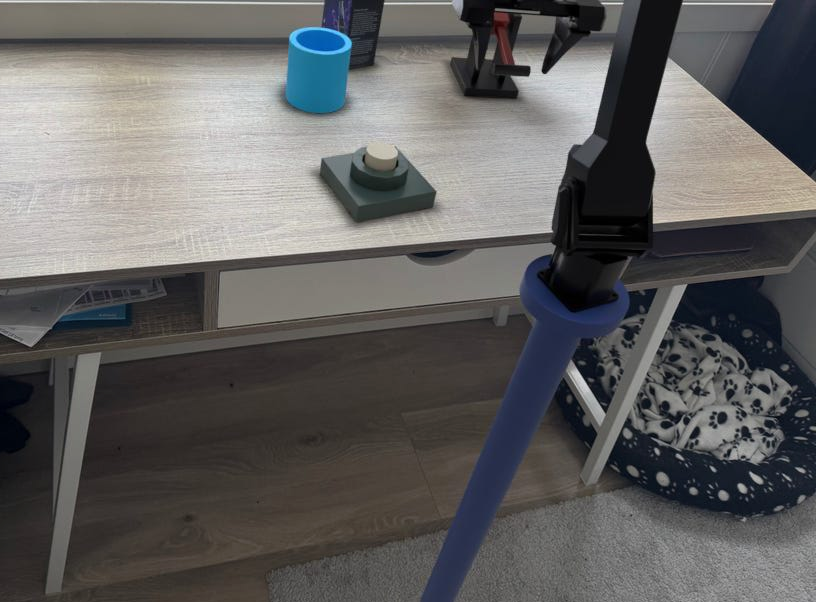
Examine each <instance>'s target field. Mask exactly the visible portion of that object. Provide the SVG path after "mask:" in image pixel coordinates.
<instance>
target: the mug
mask: <svg viewBox="0 0 816 602" xmlns="http://www.w3.org/2000/svg"><path fill="white" fill-rule="evenodd" d="M351 46H352V42H351V40H350V39H349V38H348V37H347V36H346V35H344V34H342V33H340V32H338V31H335V30H331V29H328V28H321V27H319V26H315V27H314V26H313V27H311V26H309V27H301V28H299V29H296V30H294V31H293V32H292V33H290V34H289V39H288V53H287V70H286V83H285V84H286V87H285V99H286V101H287V103H288V104H289V105H291V106H292V107H294V108H296V109H298V110H300V111H303V112H306V113H311V114H313V113H314V114H328V113H333V112H337V111H338V110H340V109H342V108H343V106H345V102H346V93H347V87H348V86H347V85H348V78H349V71H350V70H349V69H350V68H349V62H350V54H351Z"/></svg>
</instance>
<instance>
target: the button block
mask: <svg viewBox="0 0 816 602" xmlns="http://www.w3.org/2000/svg"><path fill="white" fill-rule="evenodd" d="M393 146H394V145H393ZM394 147H395V148H396V149H397V150H398V157H397V162H396V167H395V168H394V170H392V171H386V172H384V171H377V170H373V169H371V168H369V167H367V166H366V165H365V155H366V149H367V146H362V147H360V148H358V149H357V150H355V151H354V152H351V153H344V154H338V155H331V156H325V157H321V160H320V170H319V175H320V176H321V178H322V179H323V180H324V181H325V183H326V184H327V186H328V187H329V188H330V190H331V191H332V192H333V193H334V194H335V196H336V197H337V198H338V199H339V201H340V202H341V204H342V205H343V207H344V208H345V209H346V211H347V212H348V214H349V215H350V216H351V217H352V219H353V220H354V221H355V222H356V223H359V222H365V221H370V220H375V219H381V218H384V217H391V216H394V215H399V214H404V213H405V214H406V213H410V212H415V211H420V210H426V209H430V208H434V204H435V200H436V197H437V190H436V189H435V188H434V187H433V185H431V184H430V182H429V181H428V180H427V179H426V178H425V177H424V175H422V173H421V172H420V171H419V170H418V169H417V167H416V166H414V165H413V164H412V162H410V160H409V159H408V158H407V157H406V156H405V155H404V154H403V153H402V151H401V150H400V149H399V148H398V147H397V146H396V145H395V146H394Z"/></svg>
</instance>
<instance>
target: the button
mask: <svg viewBox="0 0 816 602" xmlns="http://www.w3.org/2000/svg"><path fill="white" fill-rule="evenodd" d="M366 147H367V149H366V155H365V165H366V166H367V167H369V168H371V169H373V170H377V171H384V172H386V171H392V170H394V168H395V167H396V162H397V157H398V150H397V149H396V148H395V147H394V145H392V144H390V143H387V142H383V141H376V142H371V143H369V144H368V145H367V146H366Z"/></svg>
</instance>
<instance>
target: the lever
mask: <svg viewBox="0 0 816 602" xmlns="http://www.w3.org/2000/svg"><path fill="white" fill-rule="evenodd" d="M509 22H510V21H509V17H508V14H507V13H496V12H494V19H493V23H492V27H493V28H492V32H491V36H495V37H496V40H497V42H498V44H499V48H500V52H501V55H502V59H503V63H504V64H493V65H492V75H505V76H511V77H524V78H525V77H526V78H528V77H530V75H531V71H532V69H531V68H532V67H531V66H530V65H525V64H516V63H515V59H514V55H513V52H512V51H511V48H510V44H509V41H508V37H507V33H506V30H507V27H508V25H509Z"/></svg>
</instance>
